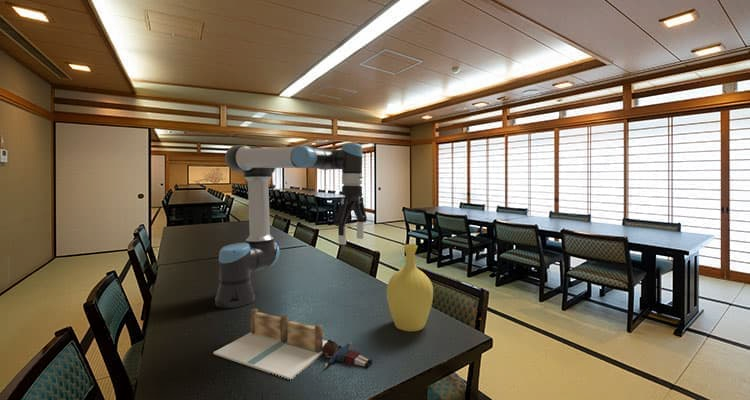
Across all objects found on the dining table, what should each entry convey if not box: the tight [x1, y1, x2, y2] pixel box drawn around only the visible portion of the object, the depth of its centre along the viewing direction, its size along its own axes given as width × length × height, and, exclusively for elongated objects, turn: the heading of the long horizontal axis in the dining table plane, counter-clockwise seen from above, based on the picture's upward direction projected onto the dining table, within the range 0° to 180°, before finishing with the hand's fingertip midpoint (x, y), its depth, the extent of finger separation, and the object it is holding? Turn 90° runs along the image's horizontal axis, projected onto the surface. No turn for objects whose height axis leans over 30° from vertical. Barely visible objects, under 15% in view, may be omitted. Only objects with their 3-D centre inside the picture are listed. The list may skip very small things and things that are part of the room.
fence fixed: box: [288, 320, 324, 352], centre depth 97 cm, size 12×2×7 cm, turn 65°
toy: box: [322, 339, 373, 369], centre depth 91 cm, size 14×5×15 cm
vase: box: [386, 243, 434, 332], centre depth 113 cm, size 16×16×28 cm
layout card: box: [212, 331, 328, 381], centre depth 97 cm, size 28×20×1 cm
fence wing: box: [250, 308, 289, 342], centre depth 103 cm, size 15×2×7 cm, turn 65°
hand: (351, 241), depth 124 cm, fingers open, 13 cm apart
